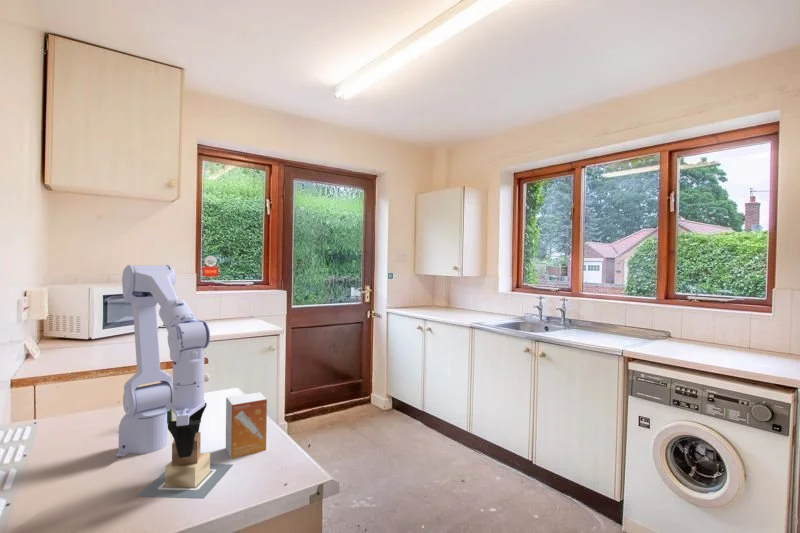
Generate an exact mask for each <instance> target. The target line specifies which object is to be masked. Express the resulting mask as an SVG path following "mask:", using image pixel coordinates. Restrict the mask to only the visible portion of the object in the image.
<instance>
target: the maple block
mask: <svg viewBox="0 0 800 533" xmlns="http://www.w3.org/2000/svg"><path fill="white" fill-rule="evenodd" d="M210 464H211V452H209V453H208V452H200V456H199V459H198V462H197V463H196V464H189V465H181V466H173V467H172V460H171V461H170V462H168V463H167V465H165V466H164V472H165V487H191V488H195V487H196V486H197V485H198V484H199V483H200V482H201V481H202V480H203V479H204V478H205V477H206V476H207V475H208V474H209V473H210Z"/></svg>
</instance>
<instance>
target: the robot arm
mask: <svg viewBox="0 0 800 533" xmlns="http://www.w3.org/2000/svg"><path fill="white" fill-rule="evenodd" d="M175 282H176V273H175V269H174V268H173V267H172V266H171V265H170V264H165V265H132V264H128V265H126V266H125V267H124V268H123V271H122V276H121V284H122V285H121V286H122V296H123V300H124V302H127V303H130V304H131V308H132V312H133V330H134V345H135V356H136V357H135V358H136V372H135V373H134V374H133V375H132V376H131V377H130V378H129V379H128V380H127V381H126V382H125V383H124V386H123V396H122V406H123V410H124V412H125V414H124V415H123V416H122V418H121V420H120V421H119V422H120V423H119V425H118V452H117V453H116V454H115V456H116V457H124V456H126V455H127V454H128V453H129V454H130V453H131V454H132V453H133V454H136V455H144V454H145V455H146V454H151V453H155V452H159V451H160V450H162V449H164V448H165V447H167V446H168V431H169V433H170V434H171V436H172V438H173V441H174V440H175V444H176V448H177V452H178V456H179V458H182V457H190V456H191V454H192V451H193V445H194V439H195V434H196V433H197V432H200V427H201V425H200V424H201V422H202V417H203V414H204V412H205V410H206V408H207V404H208V403H207V402H206V400H205V349H206V348H207V347H208V346H209V344H210V342H211V341H210V340H211V333H210V328H209V325H208V323H207V321H206V320H204V319H200V318H197V317H195V314H194V313H193V311H192V309H191V308H190V306H189V305H188V303H187V302H186V301H185V300H184V299H181V298H178V297H179V296H178V295H177V293H176V290H175V288H174V286H175V284H176V283H175ZM157 304H158V305H159V306H160V308H159V310H158V316H159V317H160V319H161V321H162V323H163V325H164V327H165V329H166V331H167V345H168V348H169V357H170V360H171V361H172V375H171V374H170V373H167V372H166V371H164V370H162V369H161V358H160V344H159V333H158V332H159V331H158V318H157V317H158V316H157ZM156 382H158V383H156ZM147 384H148V385H147ZM170 409H171V410H172V411H173V412H174V414H175V415H176V421H169V423H167V411H170Z"/></svg>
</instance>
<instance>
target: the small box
mask: <svg viewBox="0 0 800 533" xmlns="http://www.w3.org/2000/svg"><path fill="white" fill-rule="evenodd" d="M267 413H268V400H267V397H266V396H265V395H263V394H262V392H260V391H258V392H253V393H246V394H240V395H234V396H227V397H226V398H225V450H226V451H227V454H228V456H229V457H230V459H235V458H236V459H237V458H240V457H243V456H247V455H251V454H257V453H260V452H263V451H264V452H265V451H267V429H268V428H267V427H268V425H267V423H268V421H267V420H268V418H267V416H268V415H267Z"/></svg>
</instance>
